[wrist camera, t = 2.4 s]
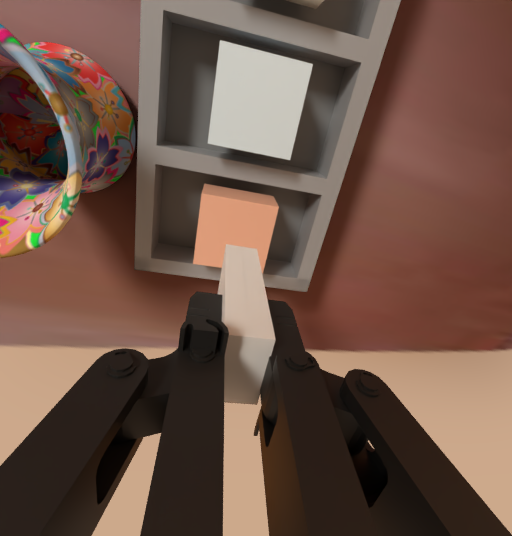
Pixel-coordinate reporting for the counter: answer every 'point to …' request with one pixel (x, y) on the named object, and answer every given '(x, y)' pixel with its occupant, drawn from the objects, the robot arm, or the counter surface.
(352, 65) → the grey compartment tray
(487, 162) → the counter surface
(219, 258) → the key
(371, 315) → the counter surface
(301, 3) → the key
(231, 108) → the key middle
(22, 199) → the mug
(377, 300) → the counter surface
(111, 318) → the counter surface
